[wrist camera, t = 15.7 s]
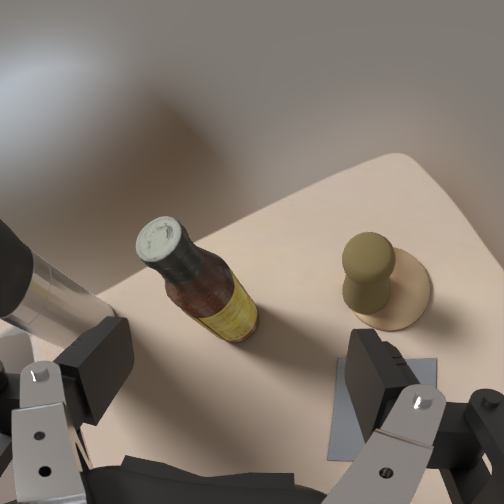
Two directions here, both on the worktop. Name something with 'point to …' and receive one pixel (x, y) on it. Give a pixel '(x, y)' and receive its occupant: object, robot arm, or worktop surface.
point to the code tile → (344, 418)
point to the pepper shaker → (368, 272)
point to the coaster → (402, 295)
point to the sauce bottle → (198, 280)
